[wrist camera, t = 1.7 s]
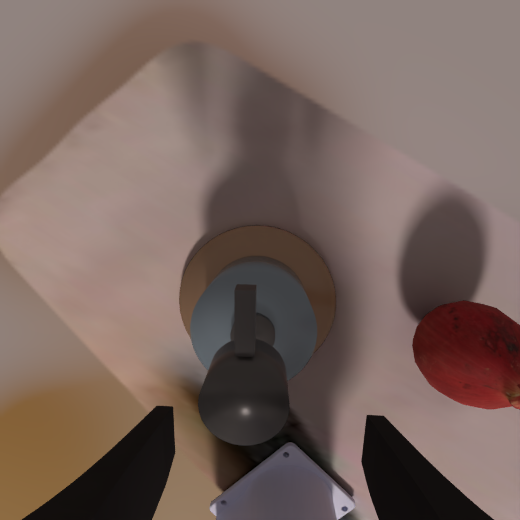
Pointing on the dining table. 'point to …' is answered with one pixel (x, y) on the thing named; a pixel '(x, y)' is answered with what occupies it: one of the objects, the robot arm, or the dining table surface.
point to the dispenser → (259, 293)
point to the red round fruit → (470, 354)
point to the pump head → (245, 382)
